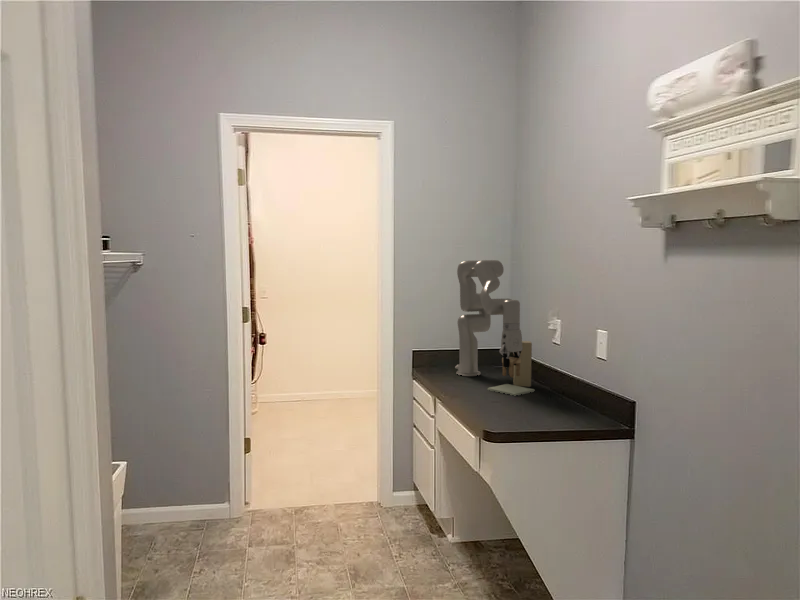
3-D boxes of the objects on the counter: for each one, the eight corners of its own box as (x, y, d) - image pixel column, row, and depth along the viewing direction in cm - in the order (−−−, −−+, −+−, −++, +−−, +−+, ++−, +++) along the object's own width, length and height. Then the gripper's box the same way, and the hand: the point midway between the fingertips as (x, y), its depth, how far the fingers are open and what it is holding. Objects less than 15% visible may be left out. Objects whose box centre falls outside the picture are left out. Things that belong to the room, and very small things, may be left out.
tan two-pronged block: (512, 377, 262) (512, 359, 262) (501, 375, 267) (501, 358, 267) (520, 375, 266) (520, 358, 266) (510, 374, 271) (510, 356, 270)
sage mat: (487, 390, 269) (487, 388, 269) (507, 385, 278) (507, 383, 278) (514, 396, 257) (514, 393, 257) (534, 391, 266) (534, 389, 266)
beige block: (529, 383, 283) (529, 340, 282) (531, 386, 276) (531, 342, 274) (512, 383, 284) (513, 340, 282) (514, 386, 277) (514, 342, 275)
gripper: (505, 329, 257) (505, 369, 258) (529, 326, 268) (529, 365, 269) (492, 327, 263) (492, 367, 264) (516, 325, 274) (516, 363, 275)
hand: (511, 365), depth 266 cm, fingers closed on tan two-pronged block, 6 cm apart
